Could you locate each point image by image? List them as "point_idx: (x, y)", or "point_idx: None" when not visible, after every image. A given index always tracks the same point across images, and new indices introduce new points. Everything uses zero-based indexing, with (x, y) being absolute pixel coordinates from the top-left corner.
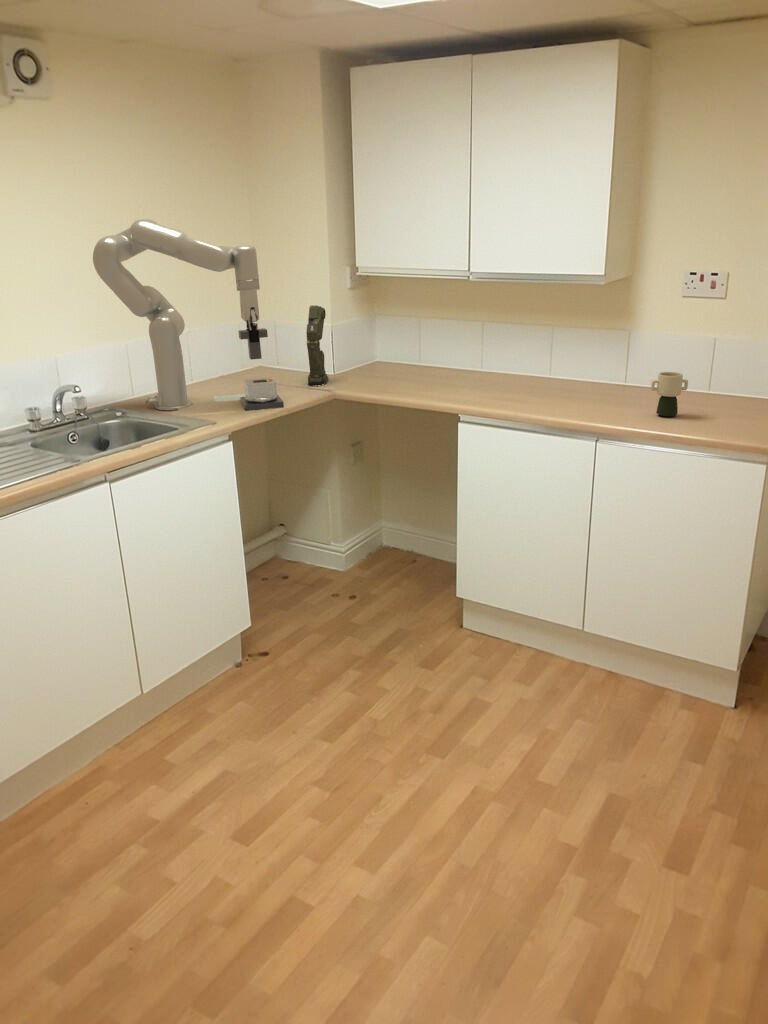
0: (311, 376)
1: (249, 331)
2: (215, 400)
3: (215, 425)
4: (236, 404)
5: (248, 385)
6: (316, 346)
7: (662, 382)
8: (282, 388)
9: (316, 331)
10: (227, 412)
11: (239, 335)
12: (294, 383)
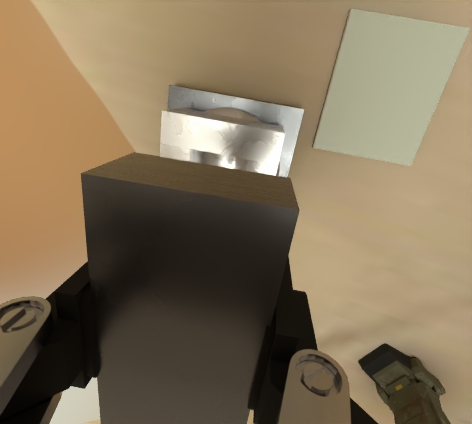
0: (416, 379)
1: (64, 289)
2: (380, 17)
3: None
4: (288, 87)
5: (162, 114)
6: None
7: None
8: (412, 286)
9: None
10: (184, 18)
11: (223, 177)
12: (450, 333)
